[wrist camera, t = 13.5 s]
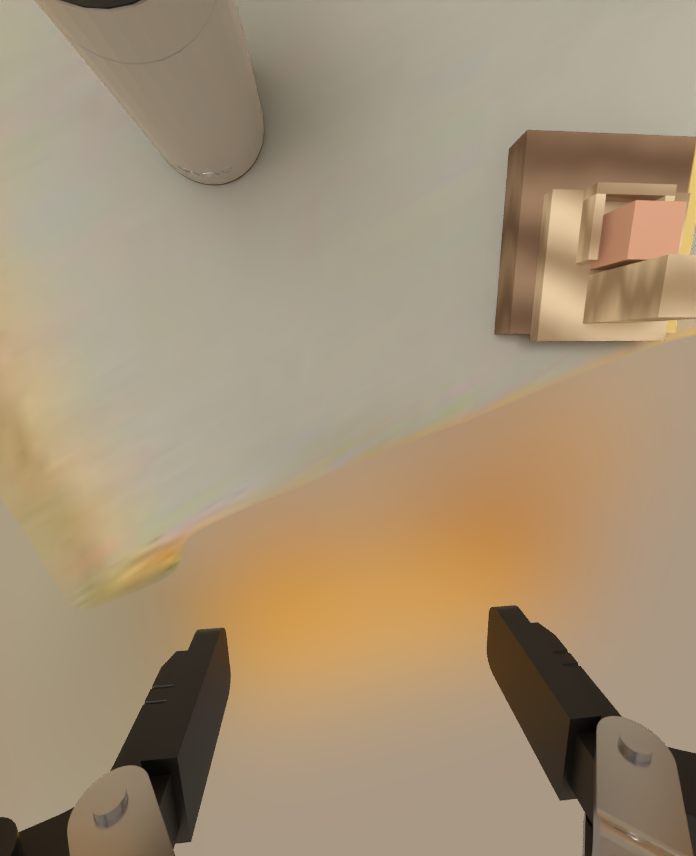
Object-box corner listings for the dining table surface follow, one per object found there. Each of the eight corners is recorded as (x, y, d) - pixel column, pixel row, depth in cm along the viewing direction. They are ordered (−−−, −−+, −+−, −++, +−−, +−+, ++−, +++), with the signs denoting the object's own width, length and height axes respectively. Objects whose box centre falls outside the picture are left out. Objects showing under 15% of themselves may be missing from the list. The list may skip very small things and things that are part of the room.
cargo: (596, 218, 31) (635, 200, 27) (641, 219, 31) (687, 201, 28) (589, 269, 32) (627, 259, 28) (633, 270, 32) (676, 259, 28)
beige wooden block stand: (544, 194, 32) (627, 139, 23) (677, 198, 32) (803, 146, 24) (529, 341, 34) (599, 340, 26) (653, 340, 35) (759, 339, 27)
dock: (509, 148, 33) (528, 129, 30) (677, 155, 34) (711, 136, 31) (494, 334, 37) (510, 333, 34) (647, 334, 38) (675, 333, 35)
